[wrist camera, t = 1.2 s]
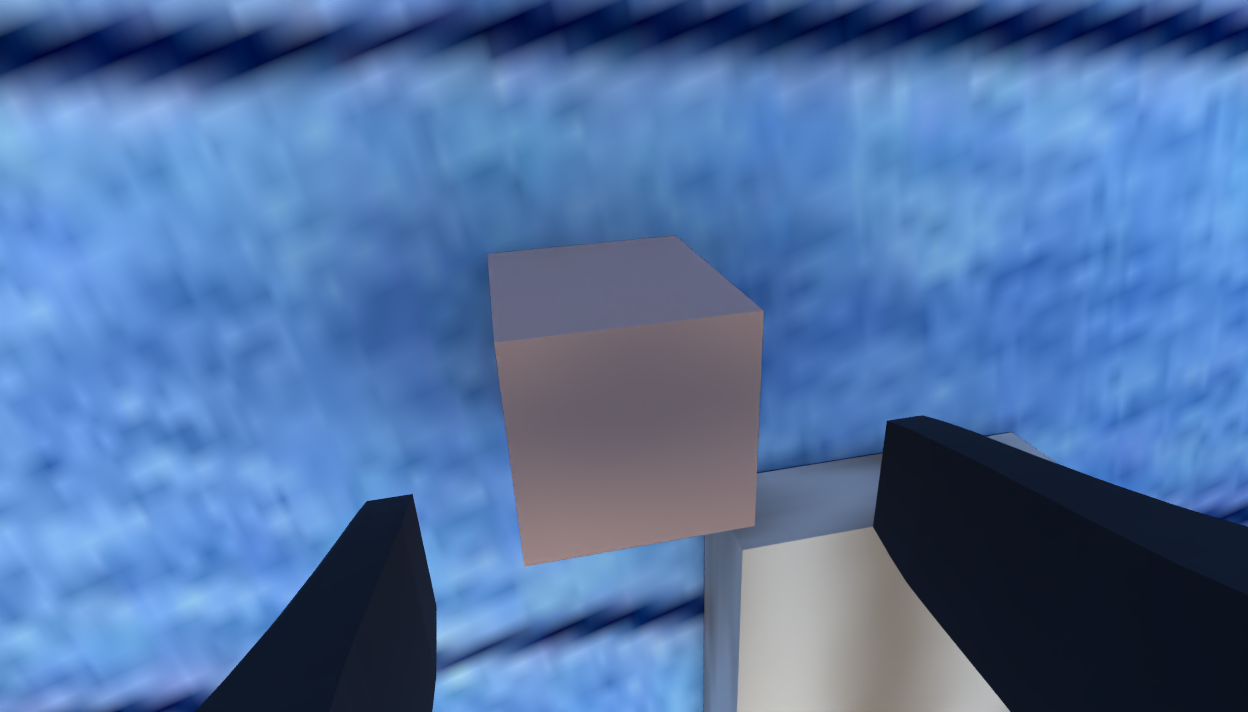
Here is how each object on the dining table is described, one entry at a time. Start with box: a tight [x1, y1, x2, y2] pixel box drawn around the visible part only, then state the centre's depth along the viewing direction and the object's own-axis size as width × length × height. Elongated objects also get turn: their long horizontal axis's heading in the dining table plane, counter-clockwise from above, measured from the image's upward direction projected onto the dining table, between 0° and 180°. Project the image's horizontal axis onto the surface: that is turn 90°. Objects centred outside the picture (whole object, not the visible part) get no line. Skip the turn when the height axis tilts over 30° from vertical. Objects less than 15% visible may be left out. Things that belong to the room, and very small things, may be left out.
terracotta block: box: [487, 235, 764, 566], centre depth 14 cm, size 4×4×6 cm
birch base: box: [704, 432, 1058, 712], centre depth 21 cm, size 10×10×3 cm
